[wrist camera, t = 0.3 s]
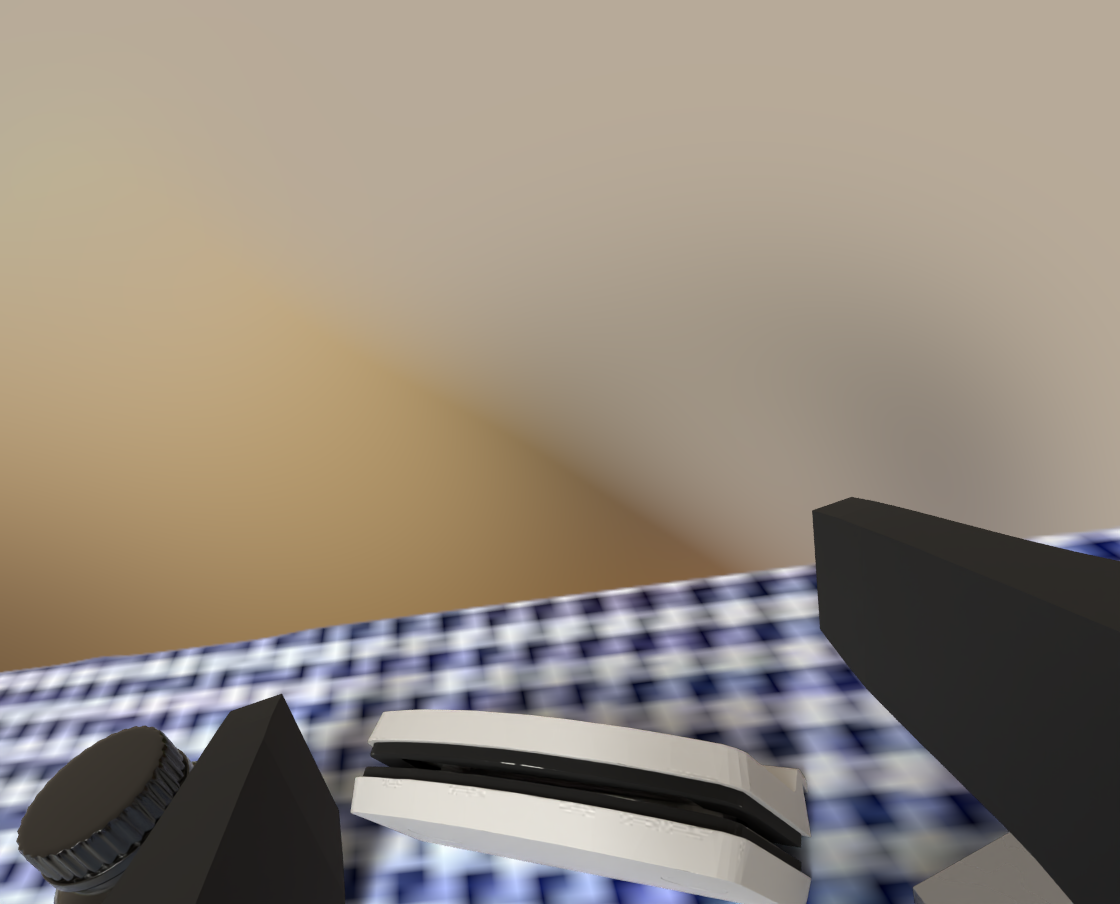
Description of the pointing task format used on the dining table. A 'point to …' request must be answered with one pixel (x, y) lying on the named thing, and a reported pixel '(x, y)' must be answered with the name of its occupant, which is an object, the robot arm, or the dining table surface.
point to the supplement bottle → (101, 812)
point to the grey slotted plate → (992, 879)
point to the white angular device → (591, 801)
